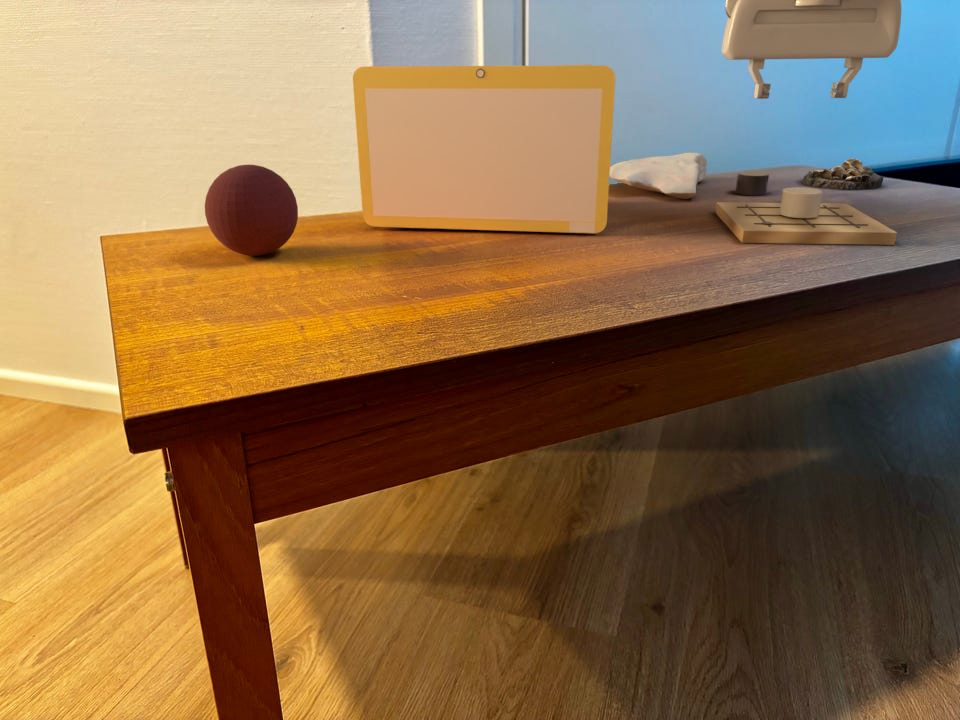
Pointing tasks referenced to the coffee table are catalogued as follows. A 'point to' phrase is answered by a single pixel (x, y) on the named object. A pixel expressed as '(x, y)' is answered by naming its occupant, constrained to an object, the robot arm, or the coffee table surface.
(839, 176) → the grey lumpy piece
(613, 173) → the decorative stone
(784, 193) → the white stone
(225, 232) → the decorative ball
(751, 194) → the black stone
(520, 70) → the tablet
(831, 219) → the game board
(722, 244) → the coffee table surface
